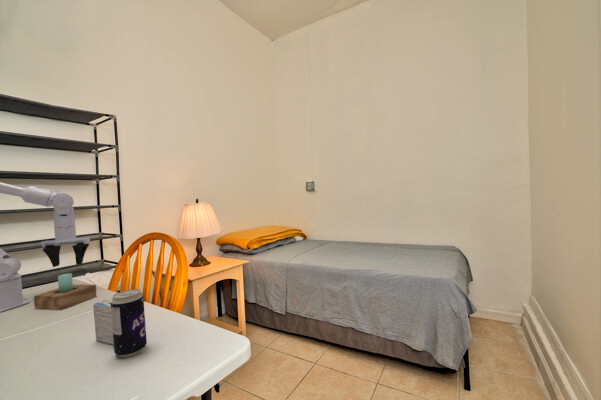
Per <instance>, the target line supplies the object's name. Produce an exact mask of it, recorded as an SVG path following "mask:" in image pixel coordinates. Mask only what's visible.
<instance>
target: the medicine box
mask: <svg viewBox="0 0 601 400" xmlns="http://www.w3.org/2000/svg"><path fill="white" fill-rule="evenodd" d="M112 299H113V296H111V297H109V298H105V299H103V300H100V301H97V302H95V303H93V319H94V329H95V330H94V332H95V340H96V341H97V342H100V343H105V344H108V345H113V346H114V341H113V328H112V315H111V301H112Z"/></svg>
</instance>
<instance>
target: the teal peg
mask: <svg viewBox="0 0 601 400" xmlns="http://www.w3.org/2000/svg"><path fill="white" fill-rule="evenodd" d="M57 282H58V283H57V285H58V288H59V293H65V292H68V291H71V290H73V285H74V283H73V273H72V272H70V273H63V274H60V275H57Z"/></svg>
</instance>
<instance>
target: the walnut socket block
mask: <svg viewBox="0 0 601 400" xmlns="http://www.w3.org/2000/svg"><path fill="white" fill-rule="evenodd" d="M96 287H97V285H96V284H73V290H71V291H68V292H65V293H59V287H58V288H55V289H51V290H49V291H46V292H43V293H39V294H36V295H34V296H33V303H34V304H33V305H34V306H33V307H34V310H55V311H56V310H58V311H61V310H66V309H68V308H70V307H74V306H76V305H78V304H80V303H84V302H86V301H88V300H92V299H94V298H96V297H97V288H96Z"/></svg>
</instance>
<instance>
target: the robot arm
mask: <svg viewBox="0 0 601 400" xmlns="http://www.w3.org/2000/svg"><path fill="white" fill-rule="evenodd" d="M59 192H60V191H59V190H57V189H56V190H50V189H47V188H44V187H43V188H42V186H41V185H35V186H34V185H30V186H27V187H20V186H17V185H13V184H8V183H4V182H2V181H0V194H5V195H8V196H9V195H10V196H15V197H19V198H21V199H22V201H23V202H24V203H29V204H32V205H37V206H41V207H42V206H43V207H45V208H46V207H47V208H49V207H52V208H53V216H52V217H53V229H54V239H51V240H44V241H43V240H42V241H41V248H42V252H44V253H45V254H46V256H47V257H48V258H49V261H50V264H51V265H52V268H55V267H58V266H60V263H61V262H60V260H61V259H60V251H61V247H62V246H68V245H69V246H70V245H72V246H71V247H72V250H73V251H74V255H75V257H74V258H75V263H76V265H77V266H80V265H82V264H83V263H84V257H85V254H86V253H87V249H88V247H89V245H90V244H91V238H90V237H77V232H76V231H77V230H76V218H75V217H76V216H75V213H74V212H75V209H74V207H73V206H74V203H75V201H74V198H73V196H71V195H69V194H68V193H64V192H63V193H62V192H61V193H59ZM21 267H22V263H21V261H20V260H19V259H18V258H17V257H13V256H12V255H10V254H8V253H7V252H6V251H4V250H3V249H1V248H0V313H1V312H5V311H8V310H11V309H14V308H17V307H20V306H23V305H26V304H29V303H31V300H24V298H23V297H24V296H23V295H24V294H23V285H22V283H23V282H22V275H21V274H19V271H20V269H21Z"/></svg>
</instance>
